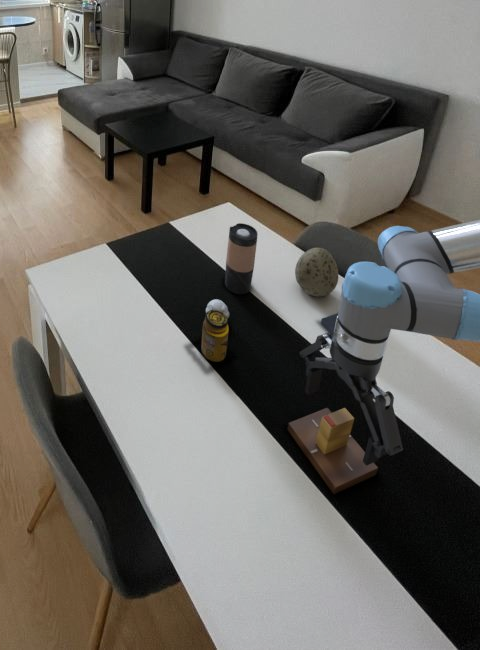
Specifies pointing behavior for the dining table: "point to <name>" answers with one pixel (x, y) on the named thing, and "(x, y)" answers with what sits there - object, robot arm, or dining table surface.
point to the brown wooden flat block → (331, 454)
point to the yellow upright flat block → (334, 430)
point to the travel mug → (240, 258)
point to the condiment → (215, 335)
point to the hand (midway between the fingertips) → (338, 423)
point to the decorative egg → (317, 272)
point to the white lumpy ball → (217, 307)
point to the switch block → (329, 323)
